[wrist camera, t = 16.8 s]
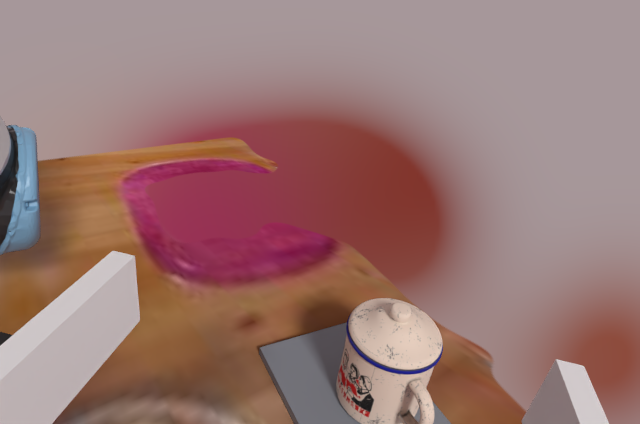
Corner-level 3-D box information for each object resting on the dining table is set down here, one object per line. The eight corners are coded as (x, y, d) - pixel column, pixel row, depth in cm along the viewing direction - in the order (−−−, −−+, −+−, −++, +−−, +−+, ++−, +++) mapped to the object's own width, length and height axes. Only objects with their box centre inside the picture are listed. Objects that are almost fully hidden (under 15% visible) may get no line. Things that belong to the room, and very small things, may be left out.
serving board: (259, 353, 48) (259, 347, 48) (362, 323, 55) (363, 317, 55) (352, 539, 34) (354, 532, 33) (478, 467, 40) (481, 460, 40)
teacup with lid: (320, 367, 47) (336, 282, 41) (393, 352, 50) (417, 272, 44) (369, 477, 37) (399, 386, 31) (455, 449, 40) (496, 362, 35)
